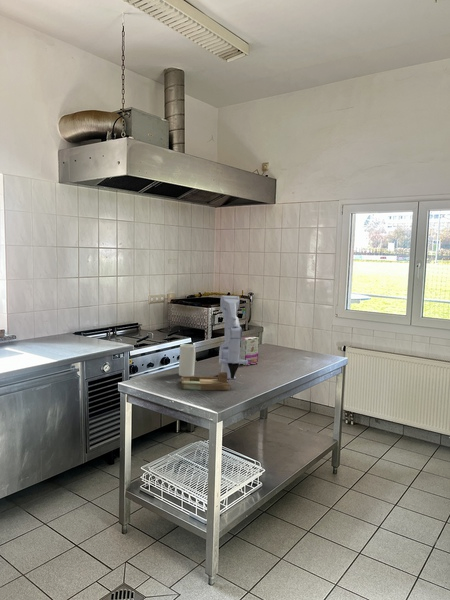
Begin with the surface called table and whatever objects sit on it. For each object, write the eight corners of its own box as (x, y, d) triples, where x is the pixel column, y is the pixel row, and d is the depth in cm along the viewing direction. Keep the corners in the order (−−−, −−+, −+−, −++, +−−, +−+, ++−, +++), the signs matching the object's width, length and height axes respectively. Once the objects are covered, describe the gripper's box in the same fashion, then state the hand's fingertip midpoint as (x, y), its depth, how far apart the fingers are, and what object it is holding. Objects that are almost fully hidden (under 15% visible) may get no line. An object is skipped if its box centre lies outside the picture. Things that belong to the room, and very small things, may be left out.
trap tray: (181, 381, 224) (181, 376, 224) (226, 382, 227) (226, 377, 227) (181, 389, 211) (182, 383, 211) (229, 390, 214) (229, 384, 214)
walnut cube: (218, 379, 225) (218, 371, 224) (225, 379, 225) (226, 371, 225) (218, 381, 221) (219, 373, 221) (226, 381, 221) (227, 374, 221)
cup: (196, 374, 240) (198, 345, 239) (188, 377, 233) (189, 347, 232) (184, 371, 244) (186, 343, 243) (175, 374, 237) (177, 345, 236)
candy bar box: (252, 362, 277) (253, 336, 275) (257, 364, 273) (259, 337, 271) (239, 364, 269) (240, 337, 268) (244, 366, 266) (246, 339, 264)
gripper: (220, 352, 218) (219, 379, 219) (249, 353, 219) (247, 380, 221) (218, 349, 224) (217, 376, 226) (247, 350, 226) (245, 376, 228)
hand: (232, 377), depth 224 cm, fingers closed
